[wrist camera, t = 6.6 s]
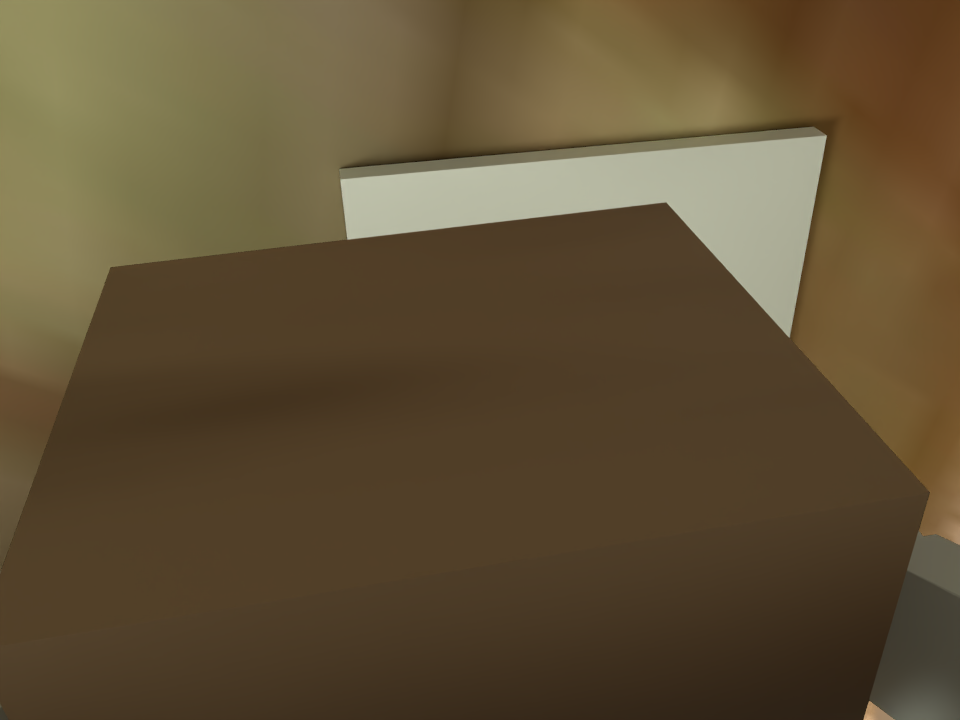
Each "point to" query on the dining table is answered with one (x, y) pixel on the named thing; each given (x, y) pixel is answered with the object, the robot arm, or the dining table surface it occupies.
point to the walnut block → (453, 492)
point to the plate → (623, 196)
